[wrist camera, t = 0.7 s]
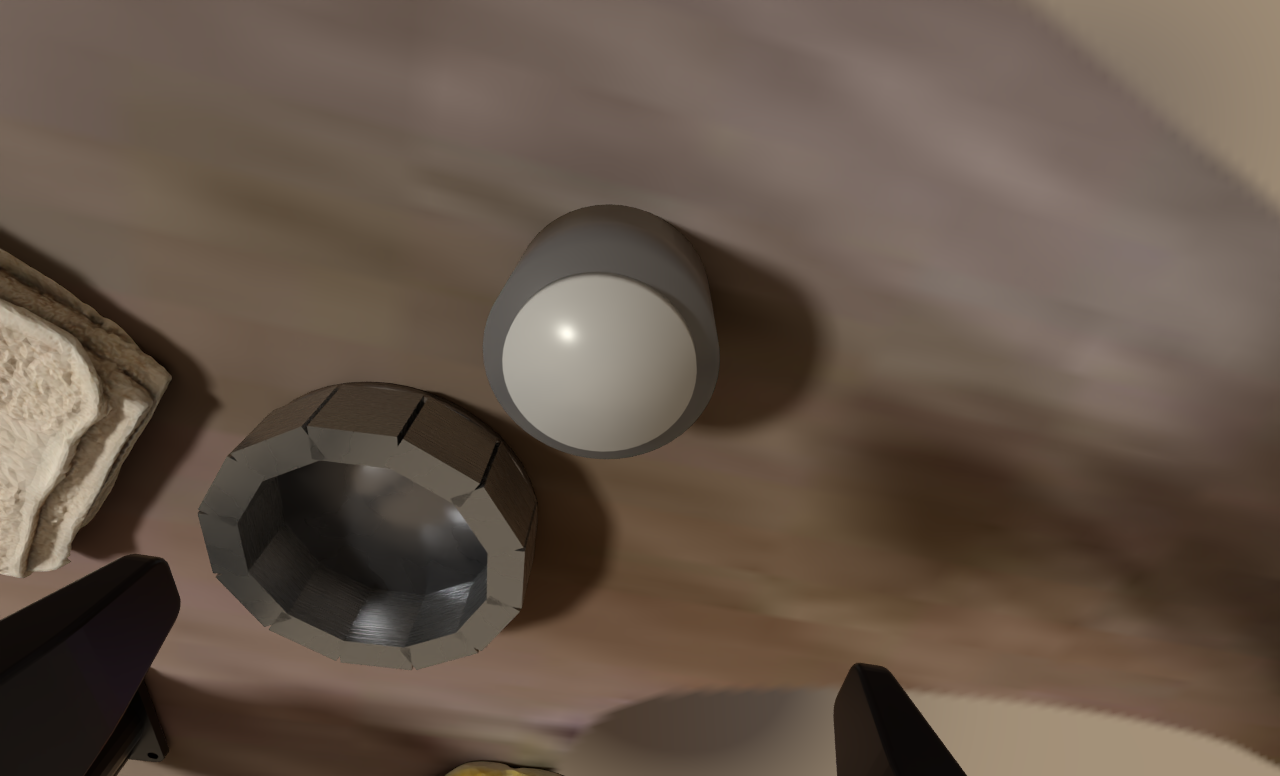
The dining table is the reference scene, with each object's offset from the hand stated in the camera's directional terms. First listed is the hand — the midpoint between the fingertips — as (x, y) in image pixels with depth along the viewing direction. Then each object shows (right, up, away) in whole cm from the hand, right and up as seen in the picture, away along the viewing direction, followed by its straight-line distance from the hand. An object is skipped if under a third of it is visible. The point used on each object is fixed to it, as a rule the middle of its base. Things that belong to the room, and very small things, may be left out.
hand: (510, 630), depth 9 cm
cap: (+1, +6, +12) cm, 13 cm away
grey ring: (-7, -1, +16) cm, 17 cm away
